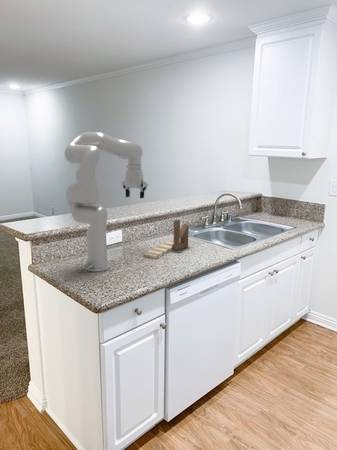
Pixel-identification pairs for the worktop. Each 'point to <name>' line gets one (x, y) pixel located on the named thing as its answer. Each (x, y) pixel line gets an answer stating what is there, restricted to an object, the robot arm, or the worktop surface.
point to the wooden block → (180, 236)
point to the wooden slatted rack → (159, 250)
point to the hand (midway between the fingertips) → (134, 197)
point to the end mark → (179, 250)
